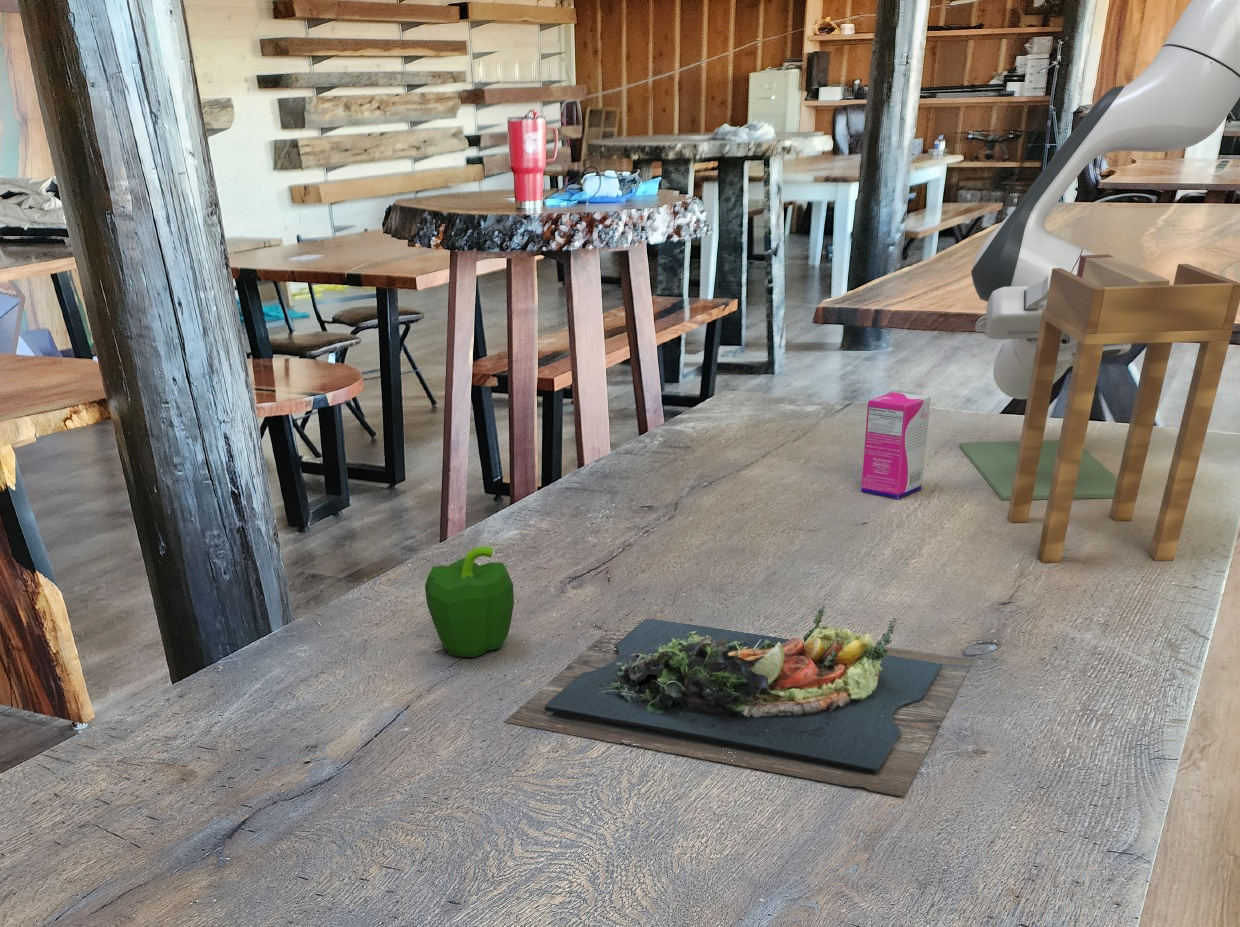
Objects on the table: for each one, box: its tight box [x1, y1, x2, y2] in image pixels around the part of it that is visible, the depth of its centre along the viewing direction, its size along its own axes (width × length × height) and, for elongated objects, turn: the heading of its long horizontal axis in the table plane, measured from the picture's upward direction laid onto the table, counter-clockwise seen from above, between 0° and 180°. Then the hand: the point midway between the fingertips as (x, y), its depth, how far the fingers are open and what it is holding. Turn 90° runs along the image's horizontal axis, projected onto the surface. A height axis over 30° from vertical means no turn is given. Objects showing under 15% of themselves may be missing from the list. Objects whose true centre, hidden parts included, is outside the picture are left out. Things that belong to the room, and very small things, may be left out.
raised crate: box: [1006, 263, 1240, 563], centre depth 127 cm, size 14×16×27 cm
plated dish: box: [503, 604, 974, 798], centre depth 103 cm, size 35×28×7 cm
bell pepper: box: [424, 545, 515, 658], centre depth 112 cm, size 8×8×10 cm
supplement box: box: [860, 391, 932, 500], centre depth 149 cm, size 6×6×12 cm
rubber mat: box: [959, 439, 1118, 501], centre depth 157 cm, size 16×26×1 cm, turn 176°
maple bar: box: [1077, 254, 1171, 287], centre depth 126 cm, size 3×20×4 cm, turn 176°
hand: (1097, 280), depth 132 cm, fingers open, 8 cm apart
